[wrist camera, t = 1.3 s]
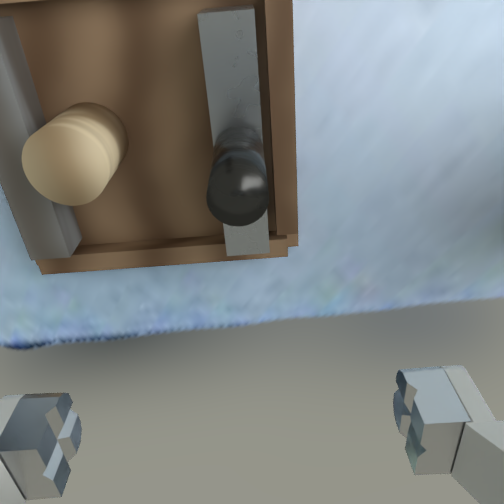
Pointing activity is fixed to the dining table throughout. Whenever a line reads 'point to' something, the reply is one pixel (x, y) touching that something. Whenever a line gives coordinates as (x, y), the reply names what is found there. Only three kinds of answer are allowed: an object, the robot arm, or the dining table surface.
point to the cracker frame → (138, 128)
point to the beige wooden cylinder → (75, 154)
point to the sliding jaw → (235, 128)
